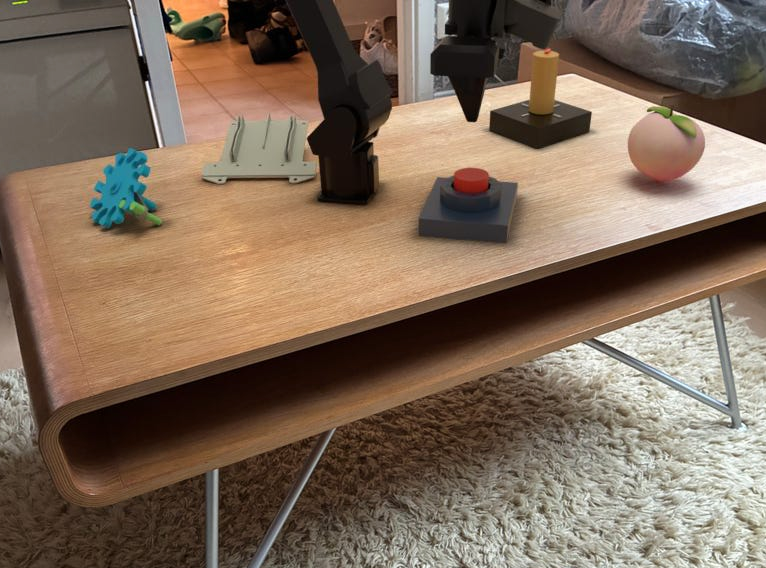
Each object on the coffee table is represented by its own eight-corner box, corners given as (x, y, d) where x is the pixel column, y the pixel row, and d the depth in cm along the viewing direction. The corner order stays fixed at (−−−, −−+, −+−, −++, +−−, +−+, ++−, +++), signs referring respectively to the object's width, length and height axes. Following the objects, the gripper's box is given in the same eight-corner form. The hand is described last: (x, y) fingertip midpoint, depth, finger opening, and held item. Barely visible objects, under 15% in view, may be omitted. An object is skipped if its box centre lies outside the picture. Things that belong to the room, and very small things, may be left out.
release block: (506, 243, 85) (509, 210, 82) (418, 236, 86) (418, 203, 84) (516, 199, 94) (519, 168, 92) (436, 193, 96) (437, 162, 94)
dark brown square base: (537, 149, 108) (539, 127, 106) (488, 130, 114) (490, 109, 112) (589, 131, 113) (592, 110, 111) (540, 115, 120) (542, 94, 118)
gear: (77, 196, 93) (125, 131, 91) (119, 218, 97) (165, 156, 95) (100, 243, 86) (152, 173, 84) (144, 264, 90) (194, 198, 88)
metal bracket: (214, 106, 107) (321, 105, 106) (223, 141, 111) (325, 140, 111) (196, 172, 98) (312, 170, 98) (206, 206, 103) (317, 205, 102)
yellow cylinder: (550, 115, 110) (556, 55, 105) (525, 113, 111) (530, 53, 106) (555, 108, 113) (561, 49, 108) (531, 105, 114) (536, 47, 109)
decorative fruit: (606, 178, 99) (617, 100, 93) (652, 165, 102) (666, 89, 96) (660, 203, 92) (676, 122, 86) (707, 189, 96) (726, 109, 90)
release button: (485, 196, 86) (486, 182, 85) (450, 194, 87) (451, 179, 86) (490, 182, 89) (490, 168, 88) (456, 180, 90) (456, 166, 89)
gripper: (555, -16, 66) (538, 156, 76) (565, -49, 81) (551, 99, 90) (429, -19, 69) (428, 149, 78) (462, -51, 83) (458, 94, 92)
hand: (472, 121), depth 84 cm, fingers closed
